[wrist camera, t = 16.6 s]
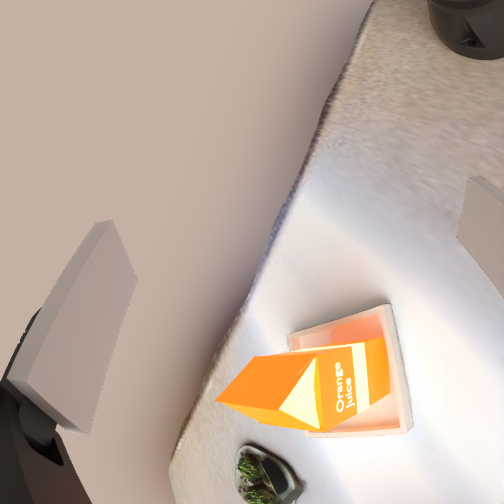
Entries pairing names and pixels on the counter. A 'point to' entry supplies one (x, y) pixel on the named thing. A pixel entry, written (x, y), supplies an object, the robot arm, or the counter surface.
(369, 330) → the tray
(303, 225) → the counter surface
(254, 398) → the orange juice
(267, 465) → the salad plate
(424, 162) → the counter surface
